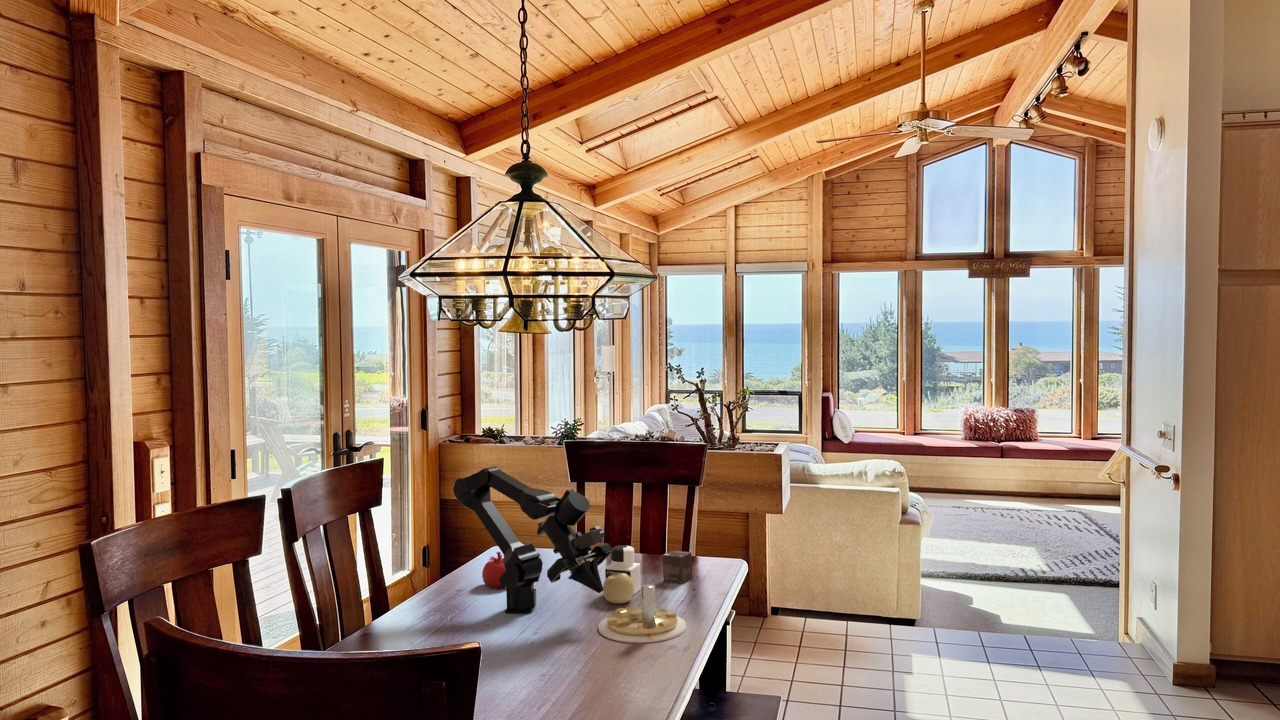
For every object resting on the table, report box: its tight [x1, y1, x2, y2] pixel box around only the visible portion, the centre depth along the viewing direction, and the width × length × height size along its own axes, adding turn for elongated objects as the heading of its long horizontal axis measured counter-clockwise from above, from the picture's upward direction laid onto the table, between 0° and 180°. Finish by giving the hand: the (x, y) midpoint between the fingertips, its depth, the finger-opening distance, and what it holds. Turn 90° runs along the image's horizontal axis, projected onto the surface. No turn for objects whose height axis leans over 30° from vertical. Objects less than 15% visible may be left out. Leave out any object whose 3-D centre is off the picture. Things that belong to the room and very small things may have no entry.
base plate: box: [598, 615, 687, 644], centre depth 193 cm, size 20×20×1 cm
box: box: [662, 549, 693, 584], centre depth 232 cm, size 6×6×7 cm
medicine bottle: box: [604, 544, 642, 596], centre depth 221 cm, size 7×7×12 cm
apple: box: [602, 573, 634, 605], centre depth 213 cm, size 8×8×8 cm
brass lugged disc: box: [606, 584, 677, 636], centre depth 193 cm, size 16×16×10 cm
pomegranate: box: [481, 551, 506, 589], centre depth 230 cm, size 10×10×9 cm
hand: (601, 591), depth 194 cm, fingers closed
